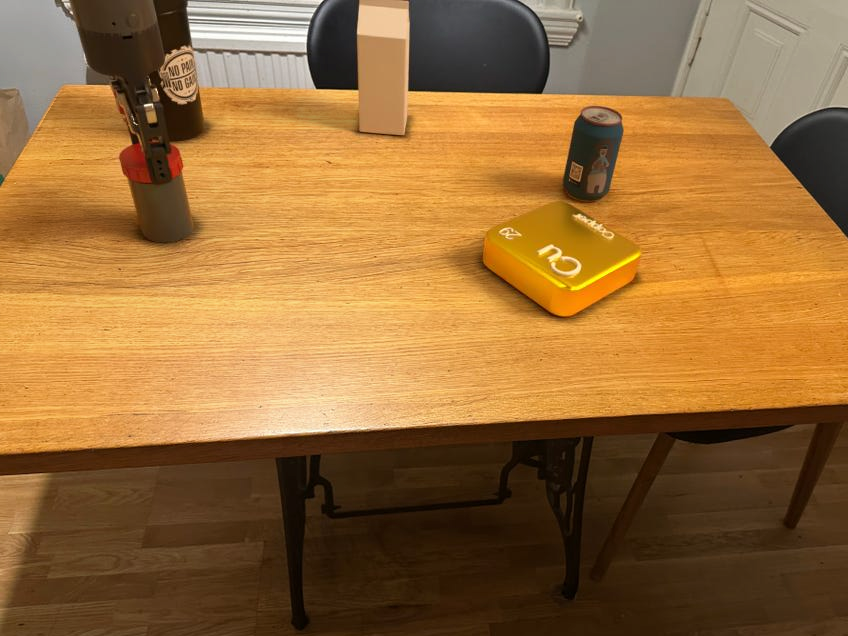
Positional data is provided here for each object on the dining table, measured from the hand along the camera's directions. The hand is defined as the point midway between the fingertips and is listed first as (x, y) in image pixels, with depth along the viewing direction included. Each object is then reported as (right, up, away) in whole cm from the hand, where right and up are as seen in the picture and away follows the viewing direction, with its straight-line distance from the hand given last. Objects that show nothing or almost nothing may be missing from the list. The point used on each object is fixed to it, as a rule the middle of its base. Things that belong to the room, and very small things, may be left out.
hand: (153, 168), depth 81 cm
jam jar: (-1, -6, +6) cm, 8 cm away
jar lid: (0, +1, -1) cm, 1 cm away
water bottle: (-8, +13, +25) cm, 29 cm away
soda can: (+54, +2, +22) cm, 58 cm away
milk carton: (+22, +16, +32) cm, 42 cm away
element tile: (+48, -11, +7) cm, 50 cm away
